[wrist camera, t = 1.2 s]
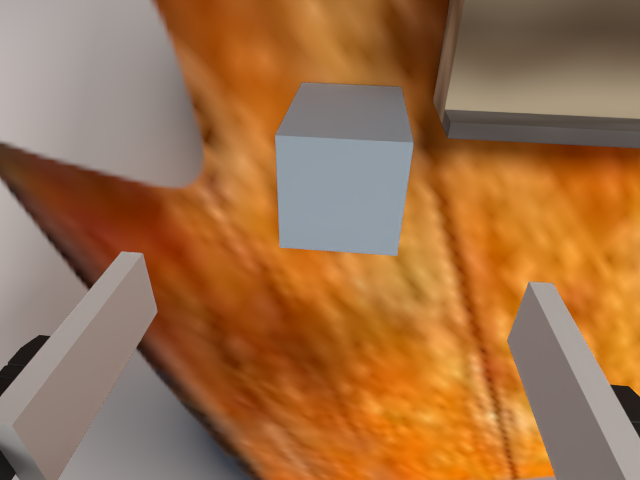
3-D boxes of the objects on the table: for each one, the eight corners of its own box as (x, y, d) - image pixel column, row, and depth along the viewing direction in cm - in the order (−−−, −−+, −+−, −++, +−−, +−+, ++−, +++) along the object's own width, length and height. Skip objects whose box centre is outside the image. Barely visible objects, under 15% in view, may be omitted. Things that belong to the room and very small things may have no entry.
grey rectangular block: (301, 82, 26) (275, 135, 19) (401, 86, 26) (413, 142, 18) (302, 172, 30) (279, 247, 22) (390, 177, 29) (397, 255, 22)
